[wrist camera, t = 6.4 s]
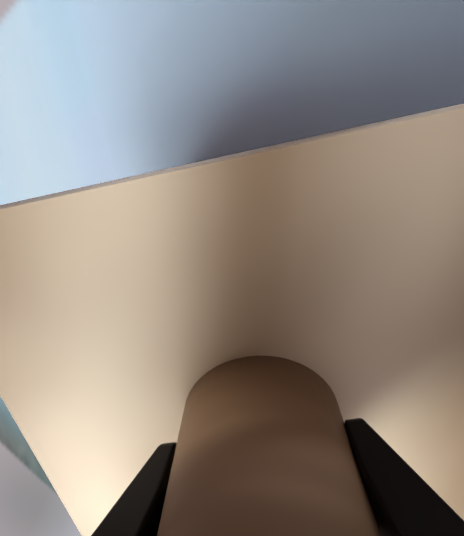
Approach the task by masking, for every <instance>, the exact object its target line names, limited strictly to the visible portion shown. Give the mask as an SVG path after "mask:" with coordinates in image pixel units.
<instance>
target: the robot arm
mask: <svg viewBox="0 0 464 536" xmlns="http://www.w3.org/2000/svg"><path fill="white" fill-rule="evenodd" d="M344 425H345V428H346V431H347V435H348V438H349V441H350V444H351V447H352V450H353V453H354V456H355V459H356V462H357V465H358V469H359V472H360V475H361V478H362V481H363V484H364V487H365V489H366V492H367V495H368V498H369V501H370V504H371V507H372V510H373V513H374V516H375V519H376V522H377V525H378V528H379V531H380V534H381V536H464V520H463V519H462V518H461V517H460V516H459V515H458V514H457V513H456V512H455V511H454V510H453V509H452V508H451V507H450V506H449V505H448V504H447V503H446V502H445V501H444V500H443V499H442V498H441V497H440V496H439V495H438V494H437V493H436V492H435V491H434V490H433V489H432V488H431V487H430V486H429V485H428V484H427V483H426V482H425V481H424V480H423V479H422V478H421V477H420V476H419V475H418V474H417V473H416V472H415V471H414V470H413V469H412V468H411V467H410V466H409V465H408V464H407V463H406V462H405V461H404V460H403V459H402V458H401V457H400V456H399V455H398V454H397V453H396V452H395V451H394V450H393V449H392V448H391V447H390V445H389V444H388V443H387V442H386V441H385V440H384V439H383V438H382V437H381V436H380V435H379V434H378V433H377V432H376V431H375V430H374V429H373V428H372V427H371V426H370V425H369V424H368V423H367V422H366V421H365V420H363V419H362V418H355V419H348V420H345V422H344ZM176 444H177V443H176V442H170V443H163V444H160V445H159V446H158V447H157V448H156V450H155V451H154V452H153V454H152V455H151V456H150V458H149V459H148V460H147V462H146V463H145V464H144V466H143V467H142V468H141V470H140V471H139V472H138V474H137V475H136V476H135V478H134V479H133V480H132V482H131V483H130V484H129V486H128V487H127V488H126V490H125V491H124V492H123V494H122V495H121V496H120V498H119V499H118V500H117V502H116V503H115V504H114V506H113V507H112V508H111V510H110V511H109V512H108V514H107V515H106V516H105V518H104V519H103V520H102V522H101V523H100V524H99V526H98V527H97V528H96V530H95V531H94V532H93V534H92V535H91V536H157V533H158V528H159V524H160V519H161V514H162V510H163V505H164V500H165V496H166V491H167V486H168V482H169V477H170V472H171V468H172V463H173V458H174V454H175V449H176Z"/></svg>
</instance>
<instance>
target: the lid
mask: <svg viewBox="0 0 464 536" xmlns="http://www.w3.org/2000/svg"><path fill="white" fill-rule="evenodd" d="M0 396H1V398H2V399H3V401H4V403H5V405H6V406H7V408H8V410H9V411H10V413H11V415H12V417H13V418H14V420H15V422H16V423H17V425H18V427H19V429H20V430H21V432H22V434H23V435H24V437H25V439H26V441H27V442H28V444H29V446H30V447H31V449H32V451H33V453H34V454H35V456H36V458H37V459H38V461H39V463H40V465H41V466H42V468H43V470H44V471H45V473H46V475H47V477H48V478H49V480H50V482H51V484H52V485H53V487H54V489H55V490H56V492H57V494H58V496H59V497H60V499H61V501H62V502H63V504H64V506H65V508H66V509H67V511H68V513H69V514H70V516H71V518H72V519H73V521H74V523H75V525H76V526H77V528H78V530H79V532H80V533H81V535H82V536H91V535H92V534H93V532H94V531H95V530H96V528H97V527H98V526H99V524H100V523H101V522H102V520H103V519H104V518H105V516H106V515H107V514H108V512H109V511H110V510H111V508H112V507H113V506H114V504H115V503H116V502H117V500H118V499H119V498H120V496H121V495H122V494H123V492H124V491H125V490H126V488H127V487H128V486H129V484H130V483H131V482H132V480H133V479H134V478H135V476H136V475H137V474H138V472H139V471H140V470H141V468H142V467H143V466H144V464H145V463H146V462H147V460H148V459H149V458H150V456H151V455H152V454H153V452H154V451H155V450H156V448H157V447H158V446H159V445H160V444H163V443H170V442H176V443H177V444H176V449H175V454H174V458H173V463H172V468H171V472H170V477H169V482H168V486H167V491H166V496H165V500H164V505H163V510H162V514H161V519H160V524H159V528H158V533H157V536H381V534H380V531H379V528H378V525H377V522H376V519H375V516H374V513H373V510H372V507H371V504H370V501H369V498H368V495H367V492H366V489H365V487H364V484H363V481H362V478H361V475H360V472H359V469H358V465H357V462H356V459H355V456H354V453H353V450H352V447H351V444H350V441H349V438H348V435H347V431H346V428H345V425H344V422H345V420H348V419H355V418H362V419H363V420H365V421H366V422H367V423H368V424H369V425H370V426H371V427H372V428H373V429H374V430H375V431H376V432H377V433H378V434H379V435H380V436H381V437H382V438H383V439H384V440H385V441H386V442H387V443H388V444H389V445H390V447H391V448H392V449H393V450H394V451H395V452H396V453H397V454H398V455H399V456H400V457H401V458H402V459H403V460H404V461H405V462H406V463H407V464H408V465H409V466H410V467H411V468H412V469H413V470H414V471H415V472H416V473H417V474H418V475H419V476H420V477H421V478H422V479H423V480H424V481H425V482H426V483H427V484H428V485H429V486H430V487H431V488H432V489H433V490H434V491H435V492H436V493H437V494H438V495H439V496H440V497H441V498H442V499H443V500H444V501H445V502H446V503H447V504H448V505H449V506H450V507H451V508H452V509H453V510H454V511H455V512H456V513H457V514H458V515H459V516H460V517H461V518H462V519H463V520H464V103H463V104H458V105H454V106H449V107H445V108H440V109H436V110H431V111H426V112H422V113H417V114H413V115H408V116H404V117H399V118H395V119H390V120H386V121H381V122H377V123H372V124H367V125H363V126H358V127H354V128H349V129H345V130H340V131H336V132H331V133H327V134H322V135H318V136H313V137H308V138H304V139H299V140H295V141H290V142H286V143H281V144H277V145H272V146H268V147H263V148H258V149H254V150H249V151H245V152H240V153H236V154H231V155H227V156H222V157H218V158H213V159H209V160H204V161H199V162H195V163H190V164H186V165H181V166H177V167H172V168H168V169H163V170H159V171H154V172H150V173H145V174H140V175H136V176H131V177H127V178H122V179H118V180H113V181H109V182H104V183H100V184H95V185H90V186H86V187H81V188H77V189H72V190H68V191H63V192H59V193H54V194H50V195H45V196H41V197H36V198H31V199H27V200H22V201H18V202H13V203H9V204H4V205H0Z"/></svg>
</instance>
